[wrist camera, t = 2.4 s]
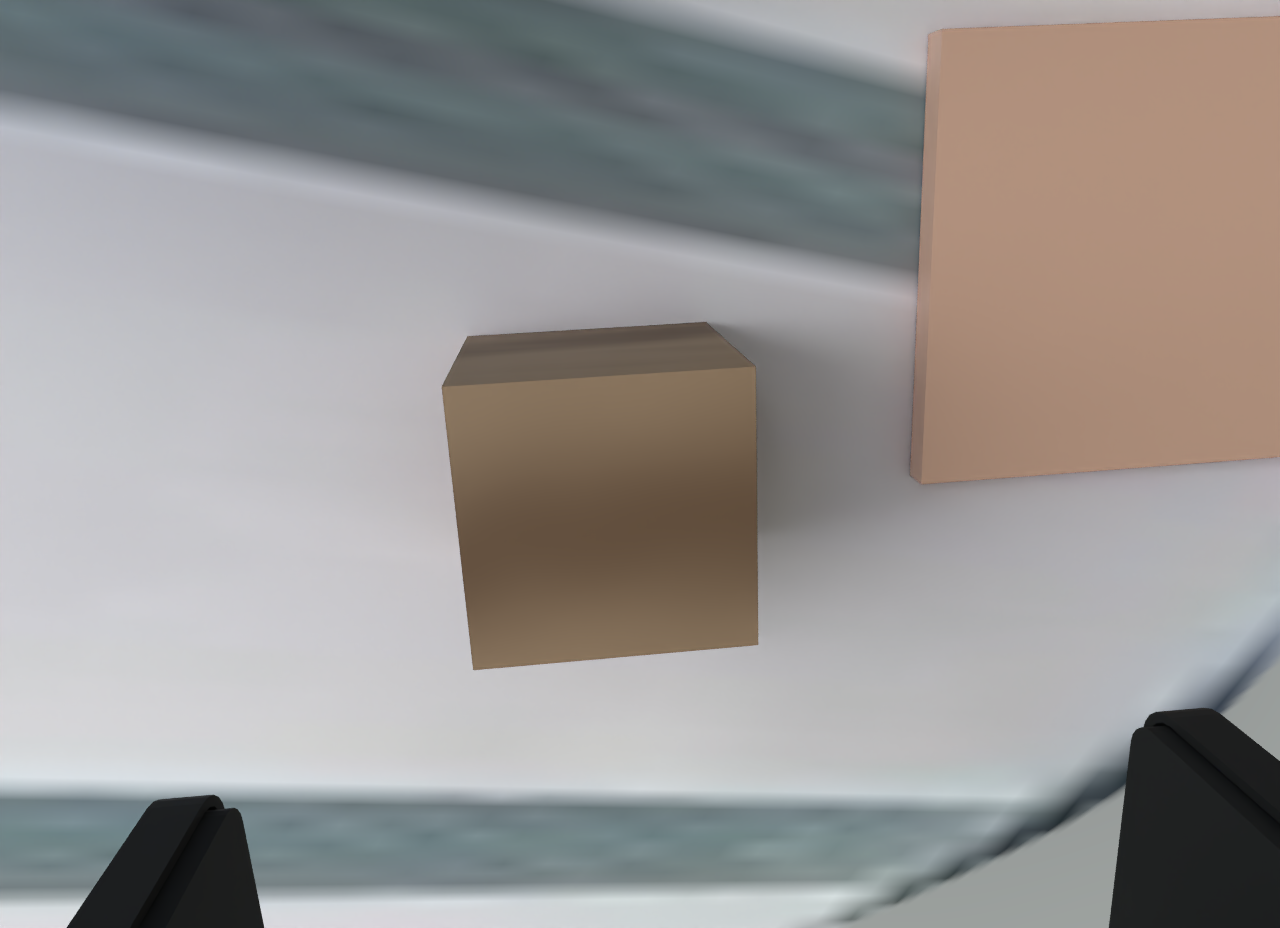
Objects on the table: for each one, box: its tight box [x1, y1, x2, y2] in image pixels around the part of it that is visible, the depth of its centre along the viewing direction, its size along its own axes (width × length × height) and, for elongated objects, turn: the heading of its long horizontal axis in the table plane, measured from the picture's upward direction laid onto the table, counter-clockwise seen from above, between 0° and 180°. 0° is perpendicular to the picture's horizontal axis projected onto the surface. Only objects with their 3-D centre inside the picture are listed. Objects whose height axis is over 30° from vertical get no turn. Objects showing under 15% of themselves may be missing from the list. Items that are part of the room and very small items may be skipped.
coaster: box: [910, 16, 1280, 484], centre depth 24 cm, size 11×11×1 cm
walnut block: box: [442, 322, 758, 670], centre depth 21 cm, size 6×6×6 cm
